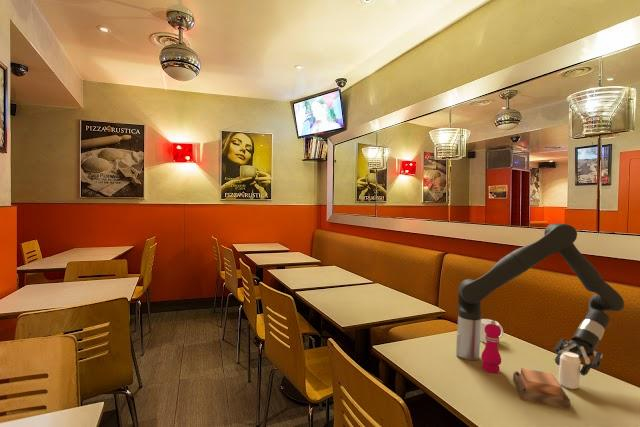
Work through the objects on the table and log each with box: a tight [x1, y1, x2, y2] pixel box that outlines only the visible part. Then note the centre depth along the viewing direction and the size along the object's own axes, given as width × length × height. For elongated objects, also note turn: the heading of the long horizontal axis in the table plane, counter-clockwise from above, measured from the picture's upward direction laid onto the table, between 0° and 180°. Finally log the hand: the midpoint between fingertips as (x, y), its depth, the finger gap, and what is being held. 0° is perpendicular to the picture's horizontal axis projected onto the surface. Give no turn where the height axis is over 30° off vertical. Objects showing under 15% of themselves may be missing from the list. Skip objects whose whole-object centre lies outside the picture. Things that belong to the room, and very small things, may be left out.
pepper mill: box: [480, 319, 502, 374], centre depth 138 cm, size 7×7×20 cm
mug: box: [480, 318, 504, 344], centre depth 169 cm, size 12×9×9 cm
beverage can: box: [558, 351, 582, 390], centre depth 128 cm, size 6×6×12 cm
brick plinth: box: [512, 367, 571, 410], centre depth 121 cm, size 14×14×6 cm
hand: (569, 368), depth 127 cm, fingers open, 8 cm apart
